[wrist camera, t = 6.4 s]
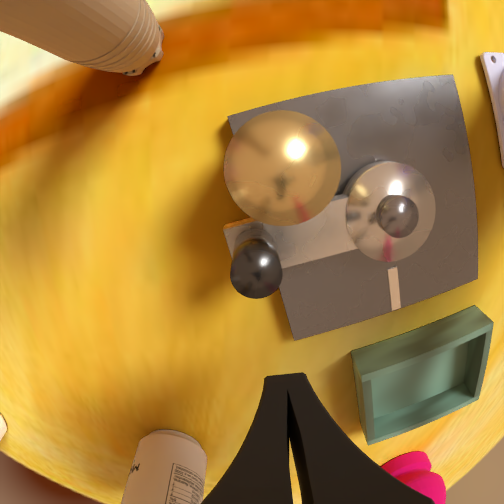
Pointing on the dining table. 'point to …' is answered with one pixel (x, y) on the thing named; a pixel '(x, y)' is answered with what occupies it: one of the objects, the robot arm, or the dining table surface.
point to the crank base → (401, 151)
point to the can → (2, 426)
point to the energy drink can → (166, 470)
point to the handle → (88, 31)
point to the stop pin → (282, 168)
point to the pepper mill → (417, 475)
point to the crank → (337, 228)
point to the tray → (421, 374)
